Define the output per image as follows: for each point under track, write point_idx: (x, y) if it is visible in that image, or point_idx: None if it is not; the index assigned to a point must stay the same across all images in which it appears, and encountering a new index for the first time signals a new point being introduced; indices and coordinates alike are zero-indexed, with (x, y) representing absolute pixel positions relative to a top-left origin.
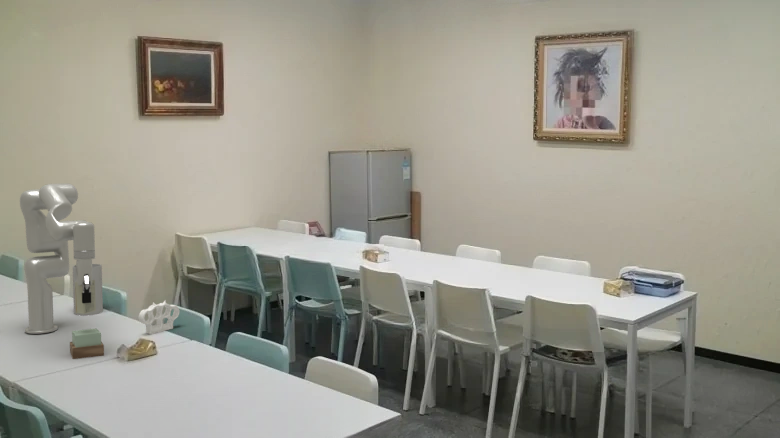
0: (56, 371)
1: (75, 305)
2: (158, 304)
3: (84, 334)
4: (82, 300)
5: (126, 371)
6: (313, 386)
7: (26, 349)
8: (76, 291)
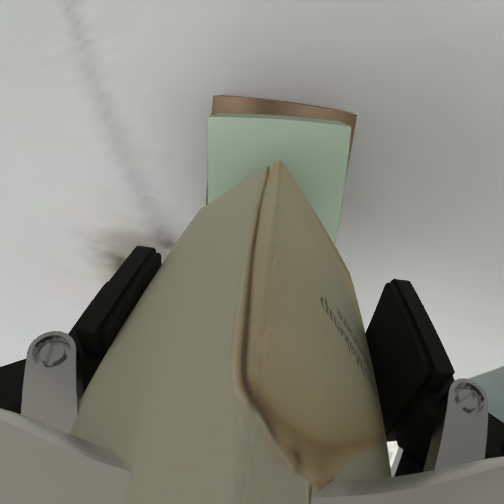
0: (83, 39)
1: None
2: (394, 458)
3: (214, 165)
4: (124, 263)
5: (25, 223)
6: None
7: (471, 13)
8: (224, 298)
